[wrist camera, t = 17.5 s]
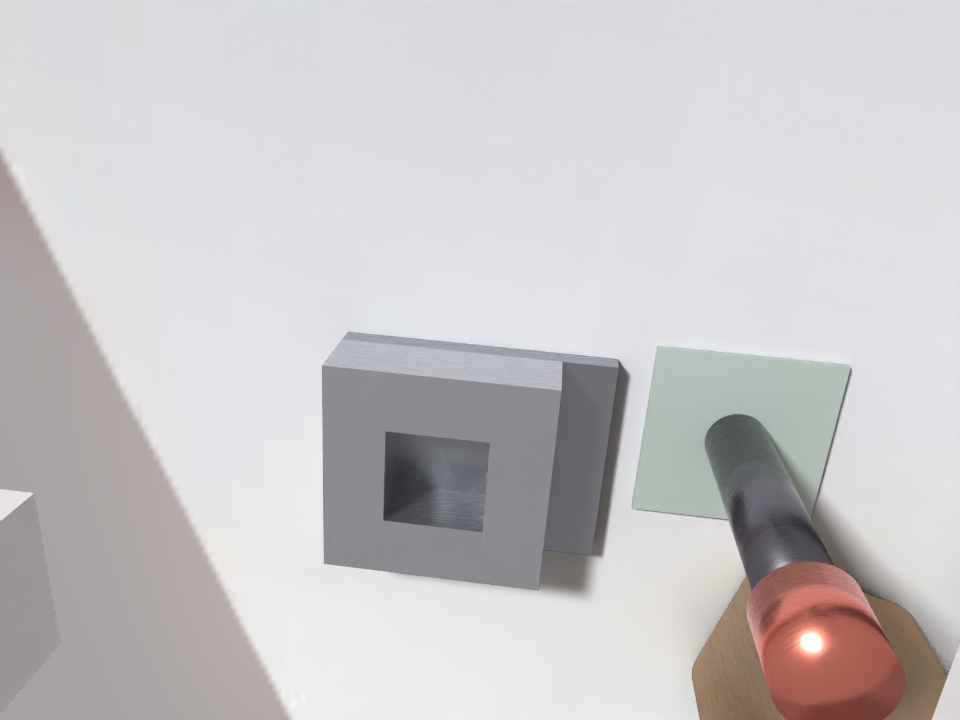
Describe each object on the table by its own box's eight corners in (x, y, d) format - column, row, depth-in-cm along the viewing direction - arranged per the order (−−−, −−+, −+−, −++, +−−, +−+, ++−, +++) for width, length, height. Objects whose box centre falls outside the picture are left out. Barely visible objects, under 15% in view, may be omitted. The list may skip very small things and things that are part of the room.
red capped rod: (689, 472, 45) (758, 725, 28) (702, 401, 43) (784, 626, 26) (768, 480, 44) (886, 742, 28) (785, 410, 43) (921, 643, 26)
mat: (657, 345, 42) (658, 348, 42) (848, 364, 42) (850, 367, 41) (631, 504, 46) (632, 508, 46) (806, 524, 45) (808, 528, 45)
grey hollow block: (348, 331, 44) (322, 365, 40) (617, 359, 43) (623, 396, 38) (347, 514, 49) (324, 563, 44) (591, 543, 48) (593, 597, 43)
